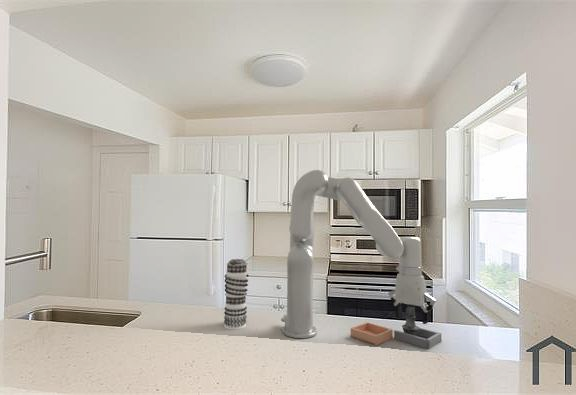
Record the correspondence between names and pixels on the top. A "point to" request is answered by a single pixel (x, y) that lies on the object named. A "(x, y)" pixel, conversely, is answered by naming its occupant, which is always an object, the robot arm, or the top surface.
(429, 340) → the cubby
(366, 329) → the dish
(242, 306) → the striped cylinder tower
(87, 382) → the top surface
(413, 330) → the chess piece
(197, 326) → the top surface
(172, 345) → the top surface
